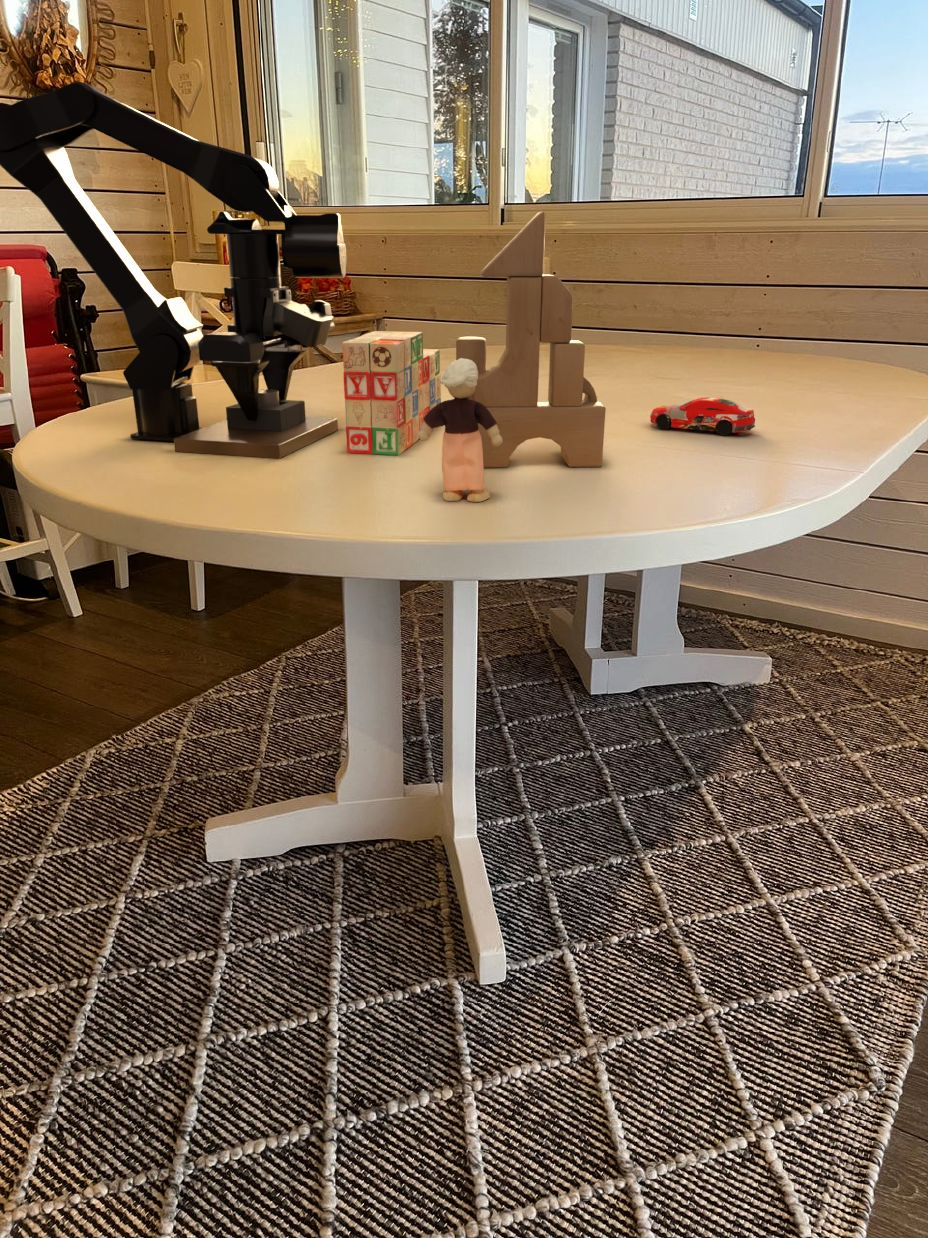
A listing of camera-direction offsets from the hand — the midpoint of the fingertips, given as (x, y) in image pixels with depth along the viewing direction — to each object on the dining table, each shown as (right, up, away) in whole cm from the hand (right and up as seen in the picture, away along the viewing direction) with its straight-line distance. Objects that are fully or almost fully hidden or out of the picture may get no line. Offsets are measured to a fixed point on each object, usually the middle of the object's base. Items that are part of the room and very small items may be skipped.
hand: (266, 414), depth 111 cm
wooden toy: (+31, -8, -10) cm, 33 cm away
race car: (+54, -1, +7) cm, 55 cm away
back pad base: (0, -3, -1) cm, 3 cm away
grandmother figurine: (+24, -14, -25) cm, 37 cm away
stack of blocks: (+16, -2, +2) cm, 16 cm away
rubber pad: (0, -1, 0) cm, 1 cm away
